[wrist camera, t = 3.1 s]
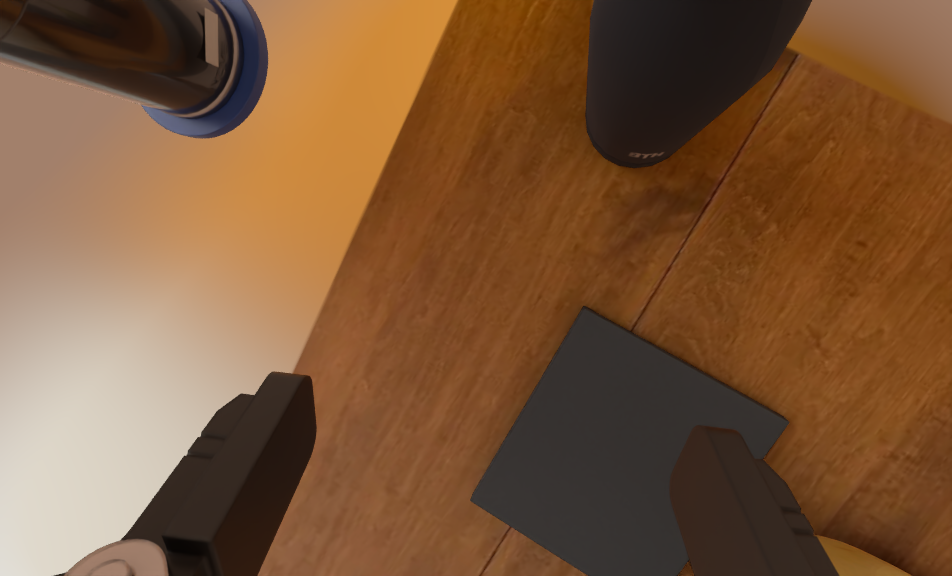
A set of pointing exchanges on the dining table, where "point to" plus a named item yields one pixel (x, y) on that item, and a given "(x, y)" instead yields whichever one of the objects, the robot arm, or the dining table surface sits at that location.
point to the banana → (856, 560)
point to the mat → (611, 450)
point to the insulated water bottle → (675, 68)
